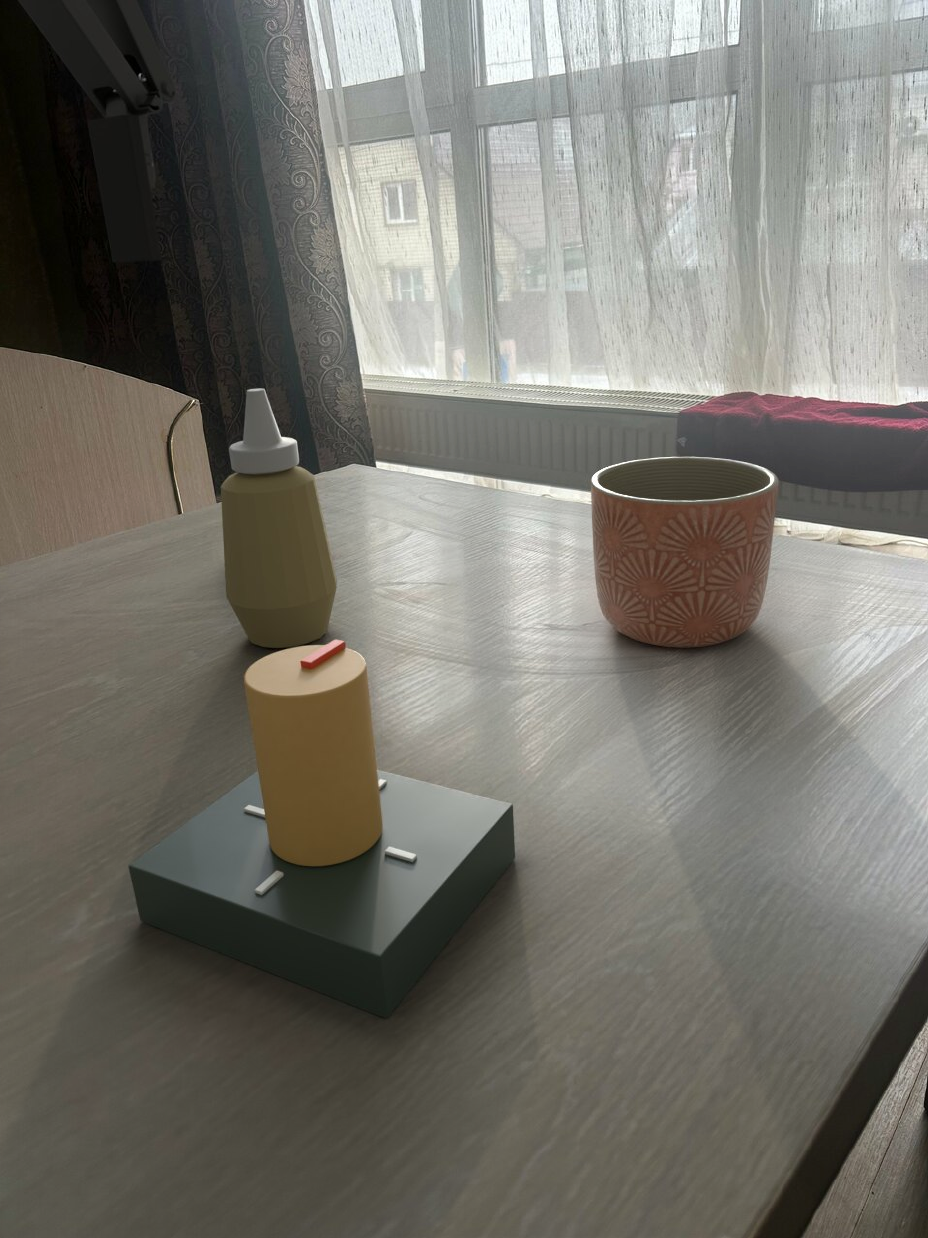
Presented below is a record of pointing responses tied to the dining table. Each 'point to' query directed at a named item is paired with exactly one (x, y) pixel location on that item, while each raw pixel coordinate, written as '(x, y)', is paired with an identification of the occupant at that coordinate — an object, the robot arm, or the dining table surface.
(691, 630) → the planter
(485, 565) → the dining table surface
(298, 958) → the panel
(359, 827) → the dial
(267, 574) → the squeeze bottle
